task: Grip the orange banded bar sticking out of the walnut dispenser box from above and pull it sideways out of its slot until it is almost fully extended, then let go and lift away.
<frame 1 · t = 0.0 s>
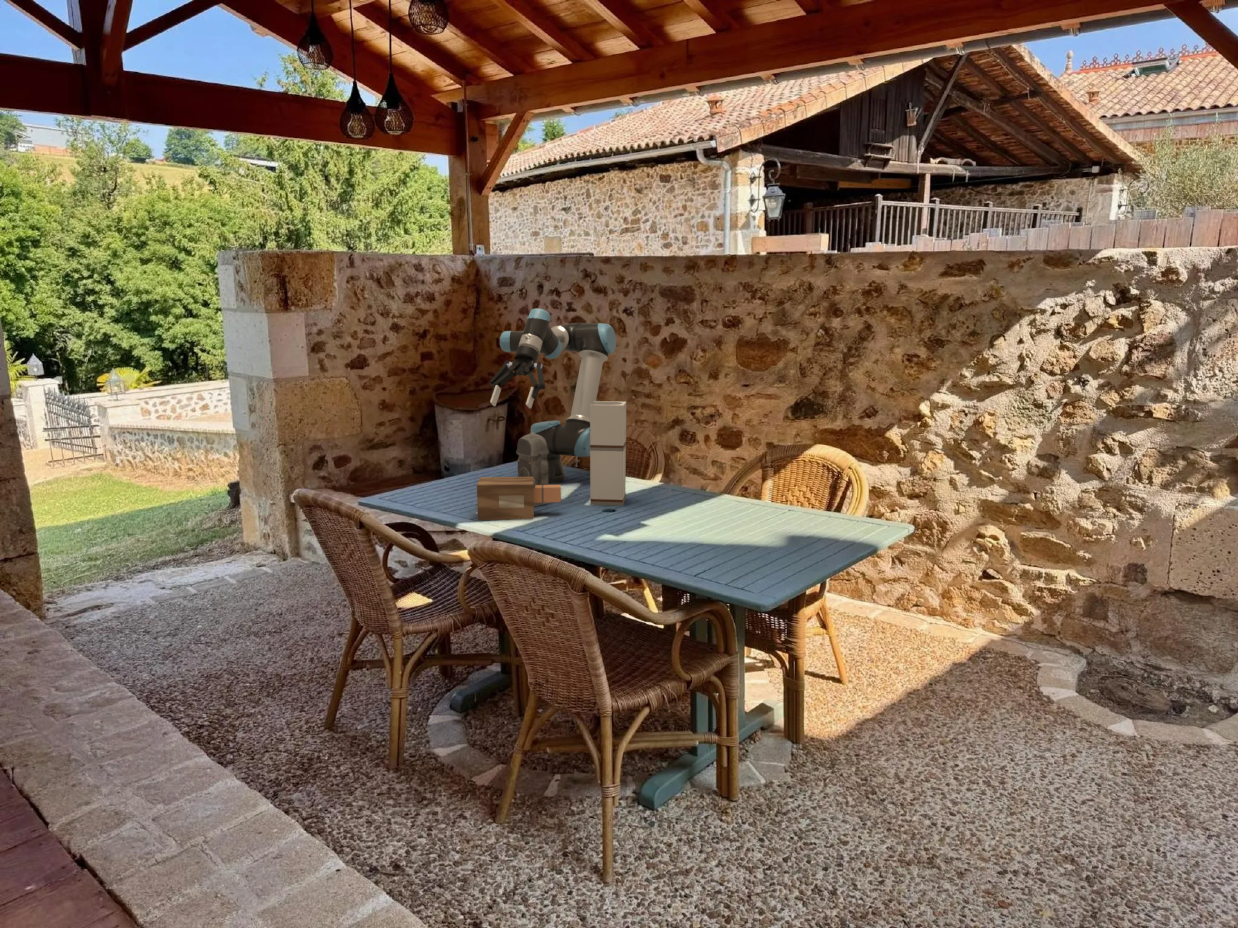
hand: (510, 405, 271), 36 cm above the table, tool tilted 35°, fingers open, 13 cm apart
grey backpack: (534, 502, 291), on the table
beige square tower: (608, 501, 292), on the table
orange banded bar: (522, 493, 272), point 7 cm above the table, slide at 0.0 cm
dispenser box: (506, 514, 273), on the table
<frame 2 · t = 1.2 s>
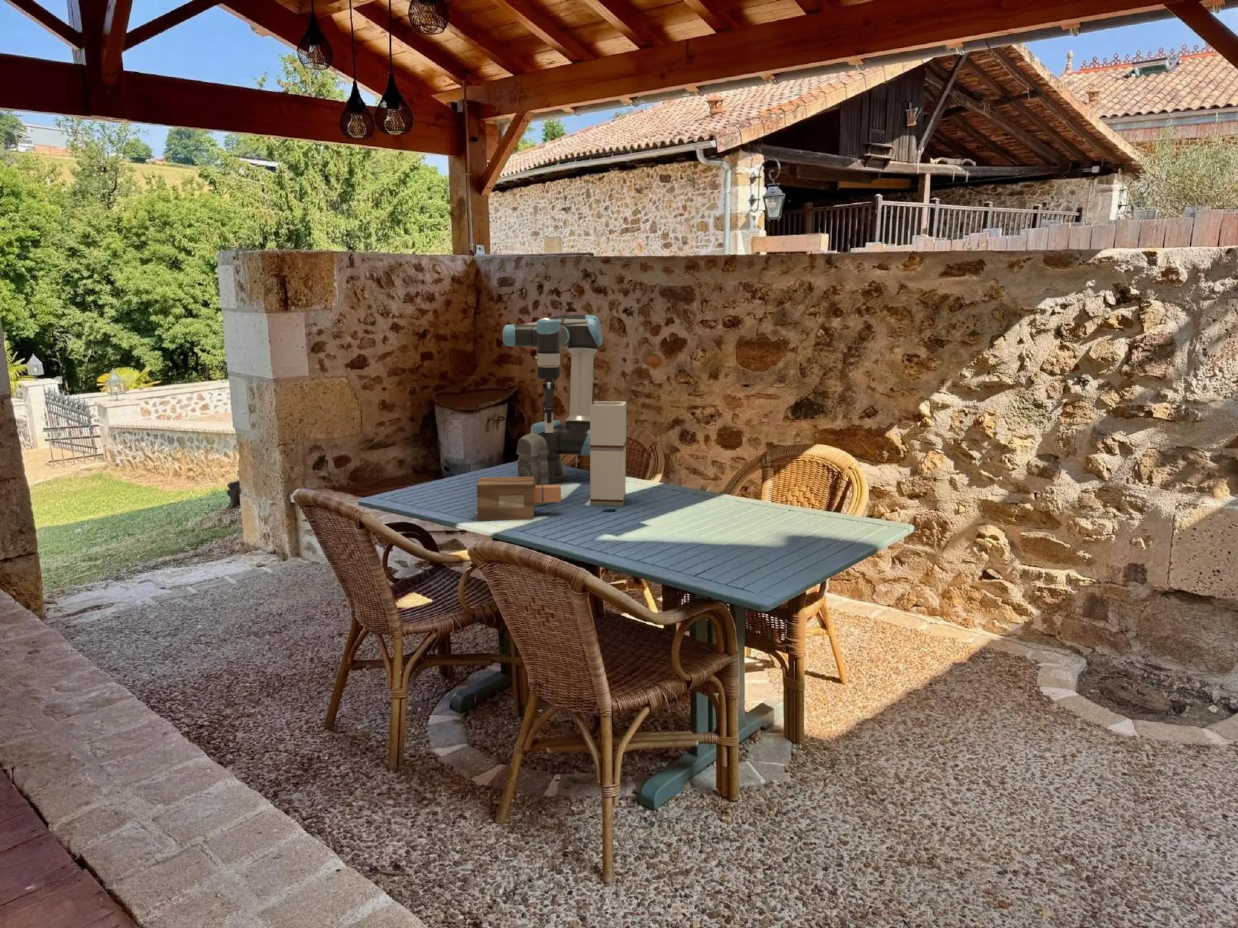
hand: (548, 429, 277), 27 cm above the table, tool pointing down, fingers open, 13 cm apart
nothing on the table moved.
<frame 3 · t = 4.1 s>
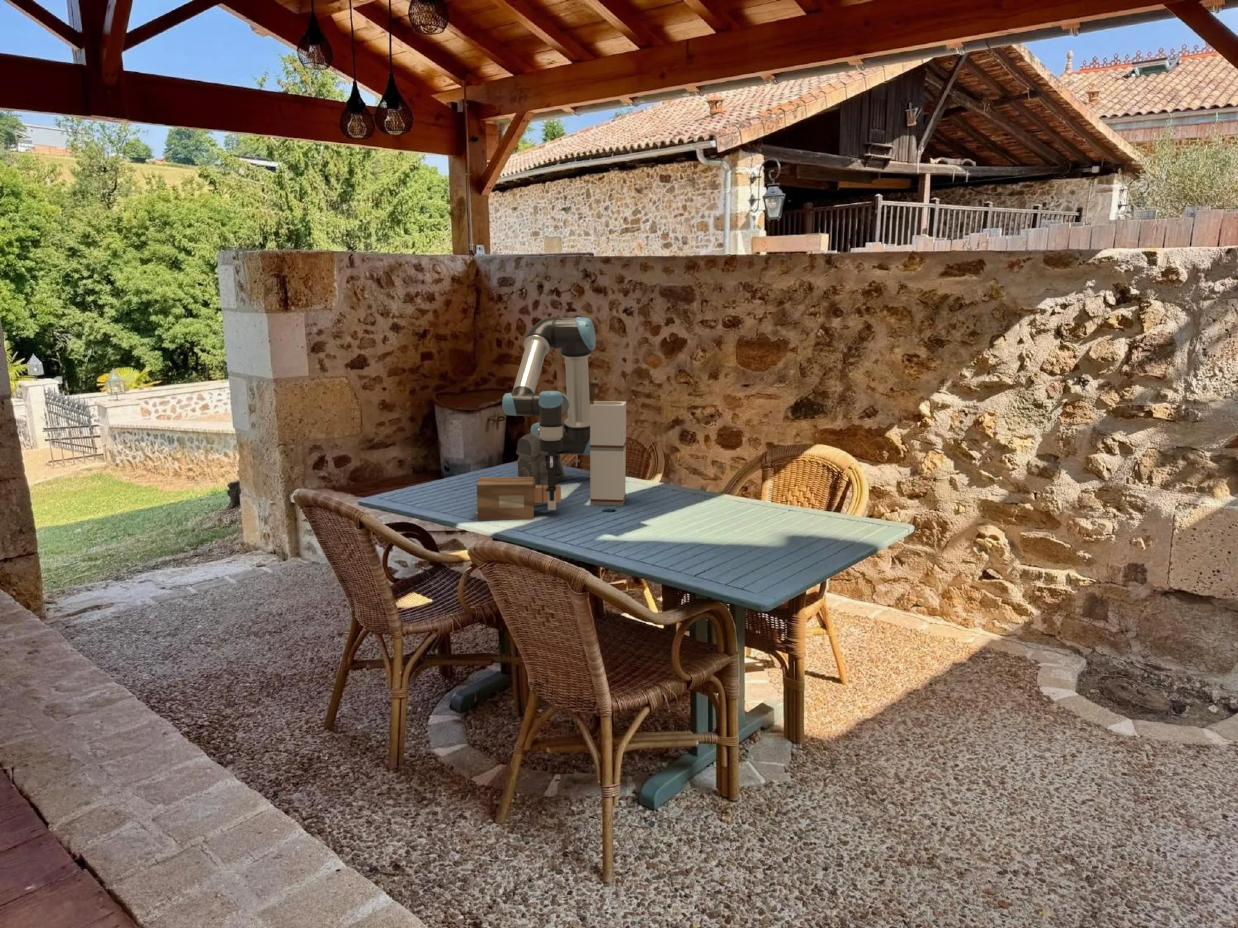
hand: (551, 507, 274), 2 cm above the table, tool pointing down, fingers closed on orange banded bar, 4 cm apart
orange banded bar: (522, 493, 272), point 7 cm above the table, slide at 0.0 cm, touching gripper
everything else where it was.
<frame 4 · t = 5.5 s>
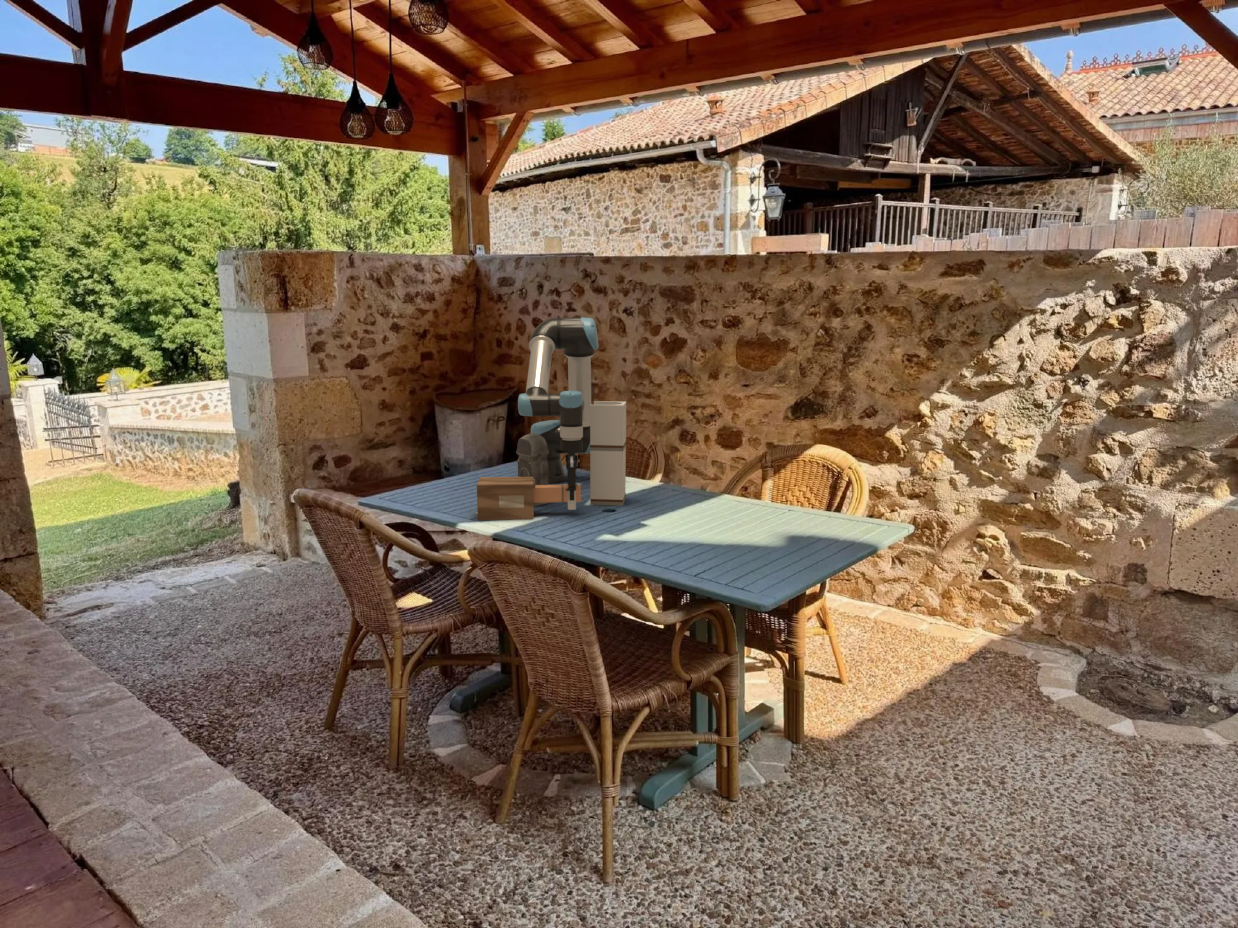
hand: (571, 507, 275), 2 cm above the table, tool pointing down, fingers closed on orange banded bar, 4 cm apart
orange banded bar: (542, 493, 273), point 7 cm above the table, slide at 6.6 cm, touching gripper
everything else where it was.
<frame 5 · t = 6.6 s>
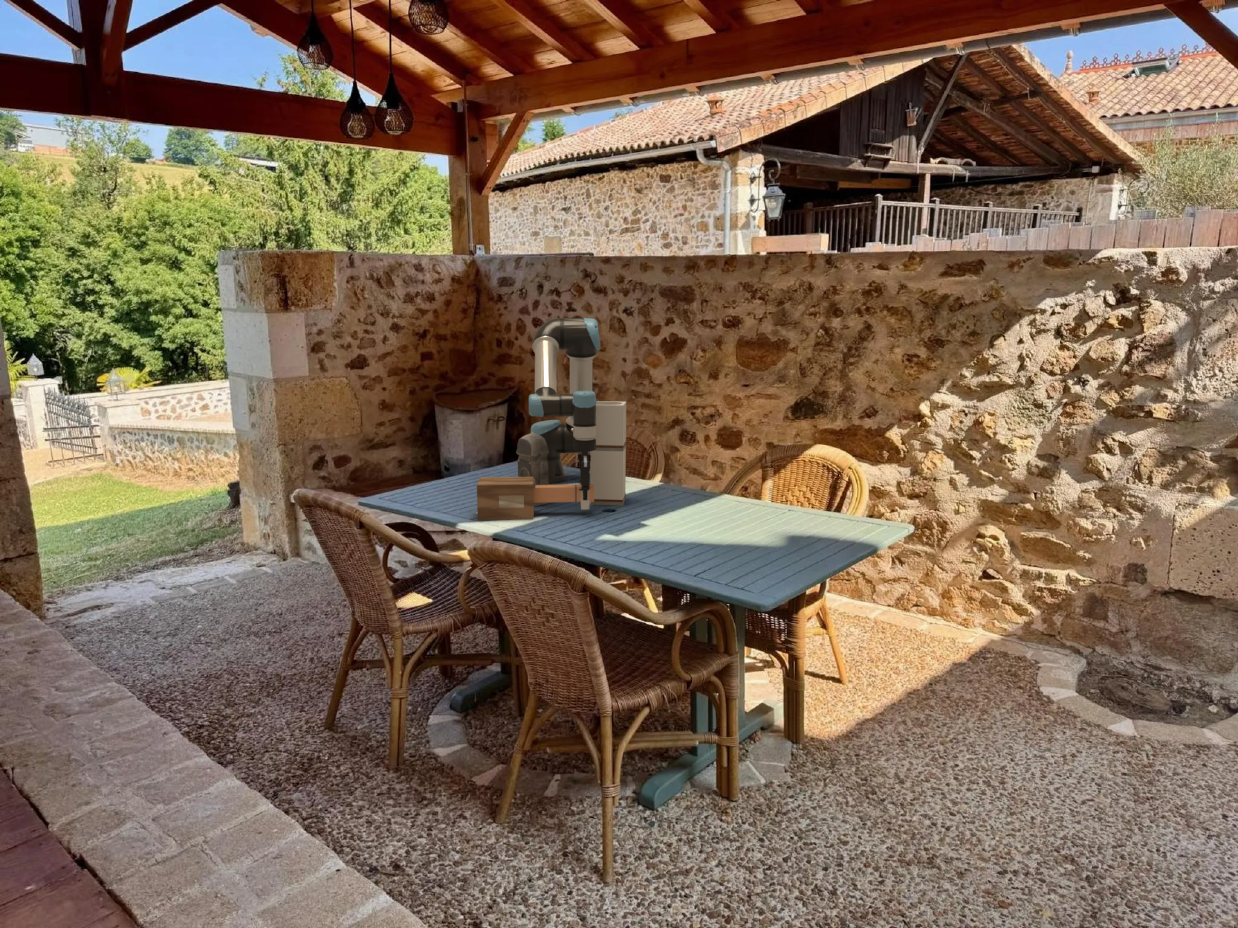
hand: (584, 507, 275), 2 cm above the table, tool pointing down, fingers closed on orange banded bar, 4 cm apart
orange banded bar: (556, 493, 273), point 7 cm above the table, slide at 11.0 cm, touching gripper
everything else where it was.
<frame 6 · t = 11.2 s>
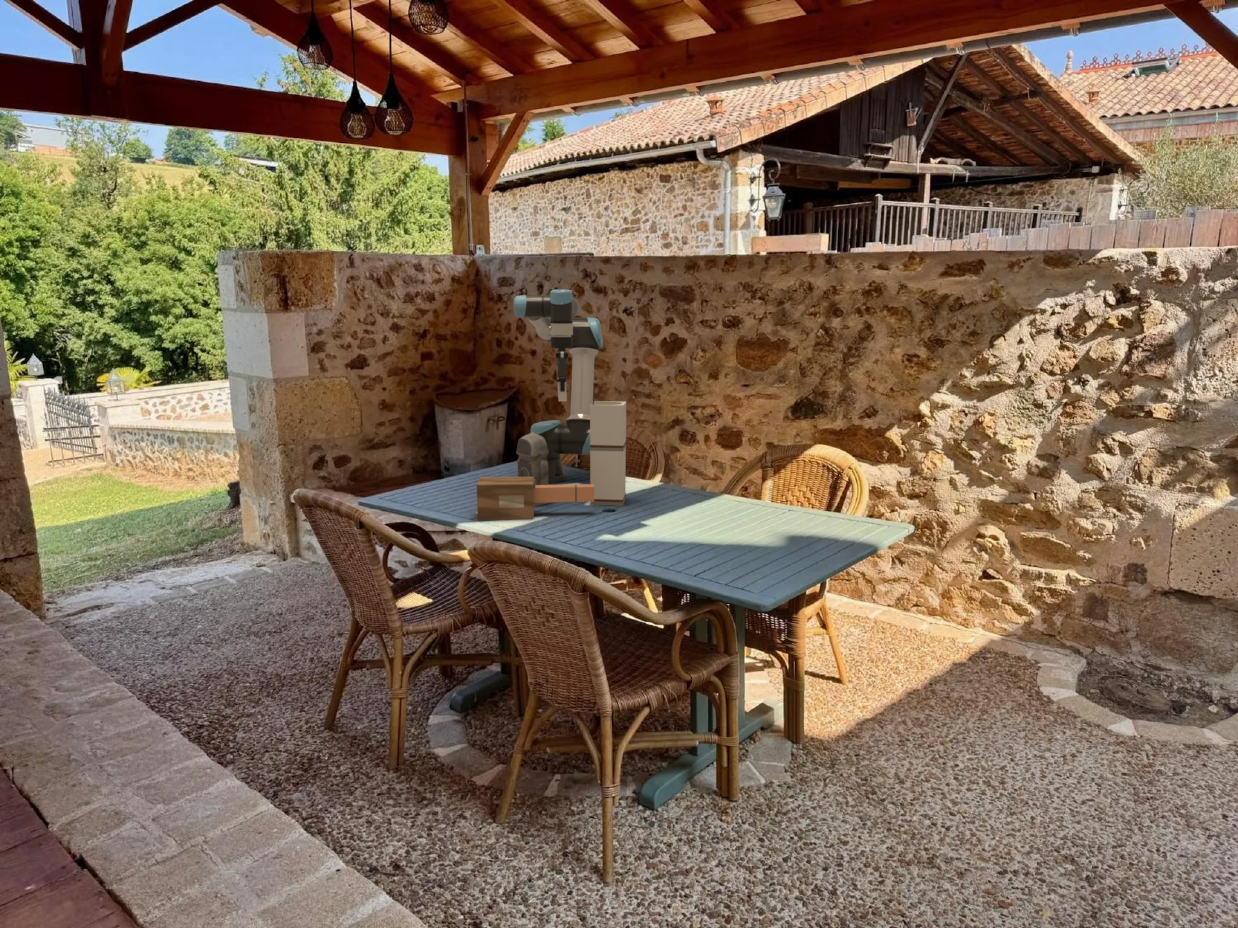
hand: (562, 398, 282), 37 cm above the table, tool pointing down, fingers open, 13 cm apart
orange banded bar: (556, 493, 273), point 7 cm above the table, slide at 11.0 cm
everything else where it was.
at the end: orange banded bar slide at 11.0 cm; the gripper is holding nothing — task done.
